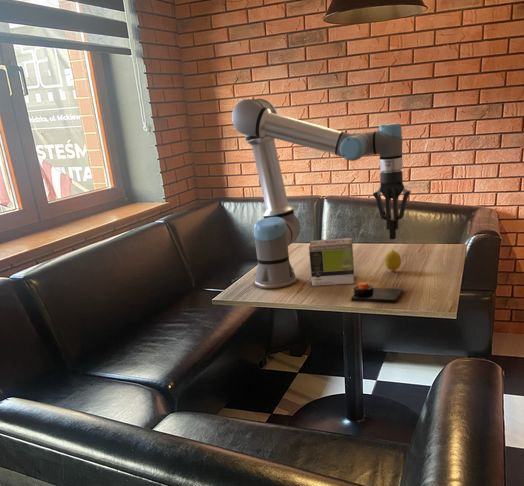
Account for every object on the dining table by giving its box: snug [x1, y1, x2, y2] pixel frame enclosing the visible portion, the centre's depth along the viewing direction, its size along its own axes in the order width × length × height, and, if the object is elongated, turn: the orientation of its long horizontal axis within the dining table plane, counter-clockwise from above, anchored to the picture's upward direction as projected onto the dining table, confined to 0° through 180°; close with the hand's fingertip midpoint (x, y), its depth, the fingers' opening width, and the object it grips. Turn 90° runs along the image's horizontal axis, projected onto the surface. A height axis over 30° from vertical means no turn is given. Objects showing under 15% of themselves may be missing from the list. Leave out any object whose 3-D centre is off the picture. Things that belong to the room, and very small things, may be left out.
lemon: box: [384, 249, 402, 272], centre depth 196 cm, size 6×6×8 cm
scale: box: [351, 284, 404, 304], centre depth 173 cm, size 14×11×3 cm
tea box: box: [308, 237, 355, 287], centre depth 191 cm, size 15×10×15 cm
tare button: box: [357, 281, 369, 289], centre depth 174 cm, size 3×3×2 cm
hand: (392, 238), depth 192 cm, fingers closed
